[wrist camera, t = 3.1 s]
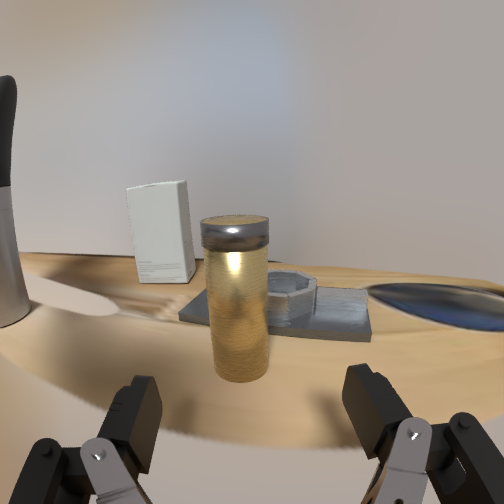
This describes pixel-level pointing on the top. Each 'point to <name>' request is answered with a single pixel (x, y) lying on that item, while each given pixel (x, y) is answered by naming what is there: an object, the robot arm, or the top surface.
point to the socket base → (303, 309)
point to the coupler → (237, 293)
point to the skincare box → (161, 232)
